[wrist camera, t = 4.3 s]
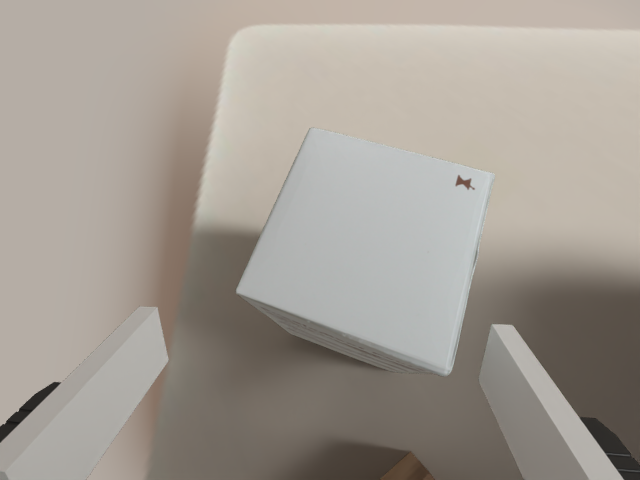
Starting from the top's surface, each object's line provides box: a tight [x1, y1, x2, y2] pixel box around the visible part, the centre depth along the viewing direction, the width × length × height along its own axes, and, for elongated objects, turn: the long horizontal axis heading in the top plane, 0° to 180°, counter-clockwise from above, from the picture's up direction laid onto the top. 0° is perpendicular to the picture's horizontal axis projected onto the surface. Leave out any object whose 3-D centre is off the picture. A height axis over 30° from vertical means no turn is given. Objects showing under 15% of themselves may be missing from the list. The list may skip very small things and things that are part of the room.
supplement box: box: [235, 128, 495, 376], centre depth 17 cm, size 7×7×13 cm
